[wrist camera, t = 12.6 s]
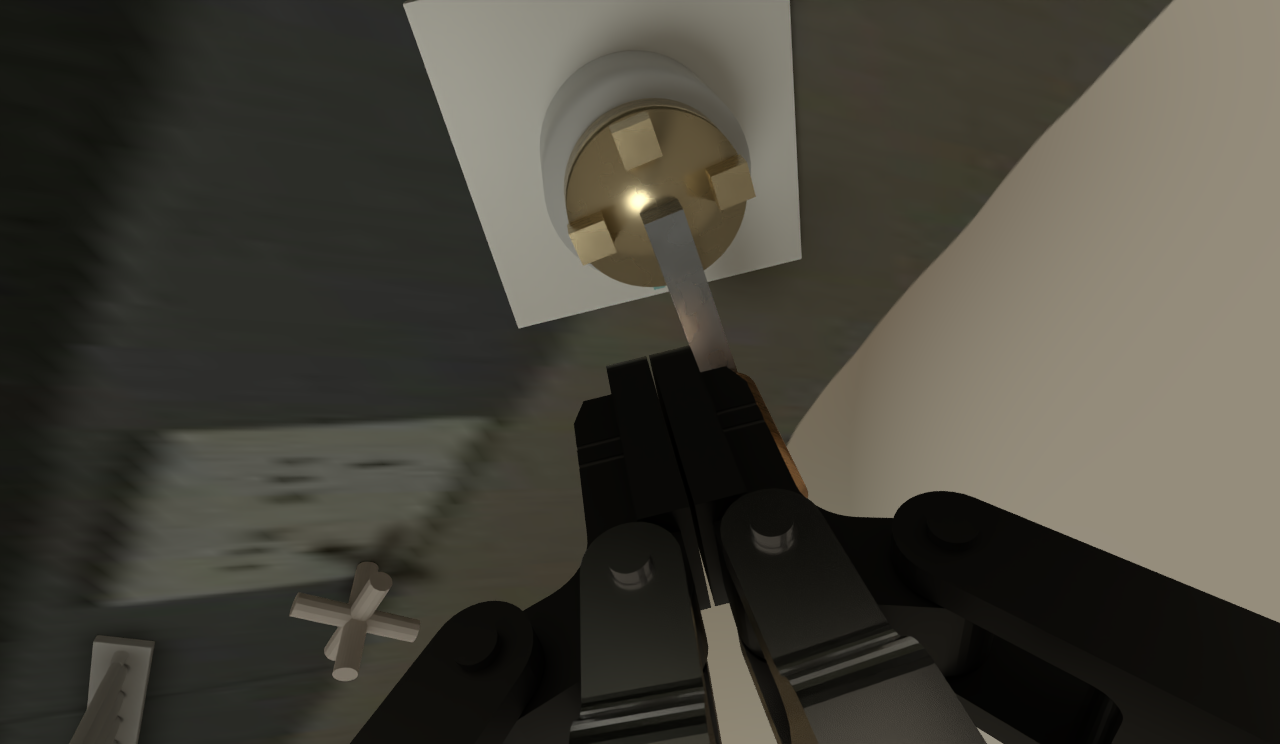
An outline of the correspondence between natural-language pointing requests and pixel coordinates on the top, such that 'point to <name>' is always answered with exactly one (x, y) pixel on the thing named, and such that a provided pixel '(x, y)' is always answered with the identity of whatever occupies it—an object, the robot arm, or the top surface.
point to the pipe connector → (355, 619)
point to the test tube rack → (116, 691)
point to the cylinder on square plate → (585, 90)
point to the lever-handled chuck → (663, 215)
